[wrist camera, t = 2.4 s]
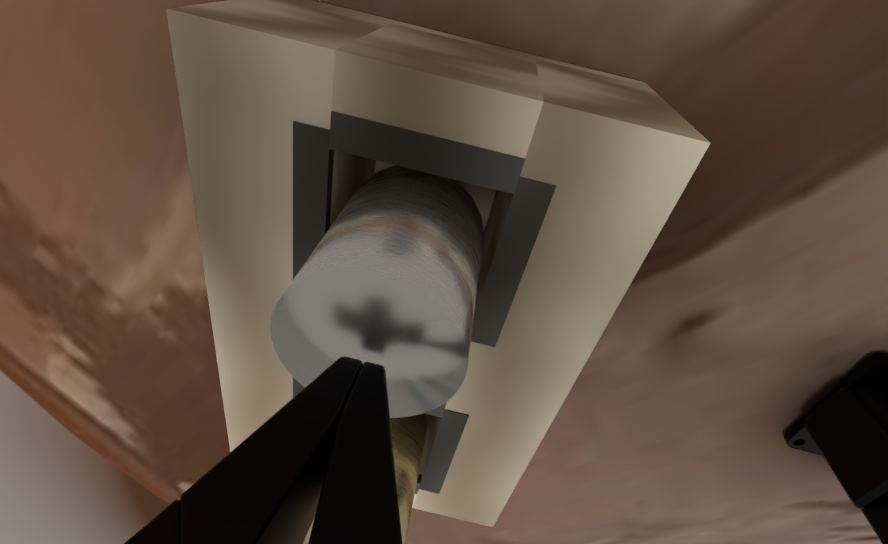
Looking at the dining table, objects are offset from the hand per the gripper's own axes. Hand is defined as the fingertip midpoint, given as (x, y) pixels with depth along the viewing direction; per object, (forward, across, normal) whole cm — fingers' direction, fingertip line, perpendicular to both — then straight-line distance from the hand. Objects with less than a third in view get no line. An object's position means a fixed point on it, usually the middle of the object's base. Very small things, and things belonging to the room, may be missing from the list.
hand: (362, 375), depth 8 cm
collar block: (+11, 0, +4) cm, 12 cm away
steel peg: (+7, 0, 0) cm, 7 cm away
